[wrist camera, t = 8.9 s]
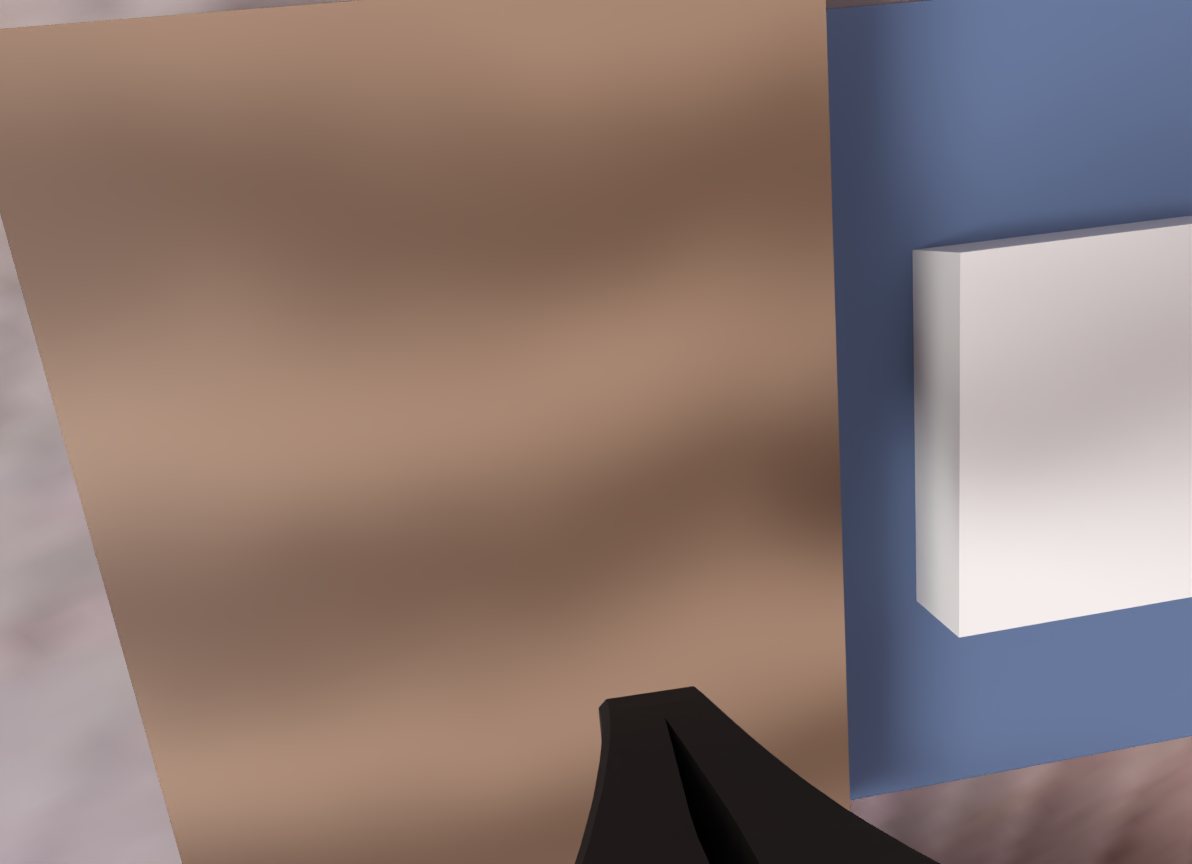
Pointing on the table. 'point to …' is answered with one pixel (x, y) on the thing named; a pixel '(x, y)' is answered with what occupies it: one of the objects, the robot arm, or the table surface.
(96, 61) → the stand
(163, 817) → the table surface
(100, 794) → the table surface
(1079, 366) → the tile
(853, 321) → the mat
